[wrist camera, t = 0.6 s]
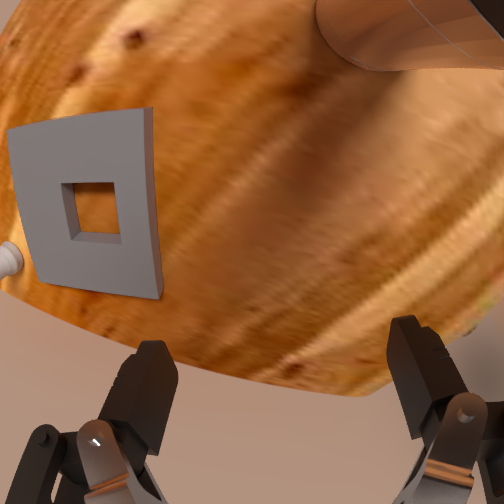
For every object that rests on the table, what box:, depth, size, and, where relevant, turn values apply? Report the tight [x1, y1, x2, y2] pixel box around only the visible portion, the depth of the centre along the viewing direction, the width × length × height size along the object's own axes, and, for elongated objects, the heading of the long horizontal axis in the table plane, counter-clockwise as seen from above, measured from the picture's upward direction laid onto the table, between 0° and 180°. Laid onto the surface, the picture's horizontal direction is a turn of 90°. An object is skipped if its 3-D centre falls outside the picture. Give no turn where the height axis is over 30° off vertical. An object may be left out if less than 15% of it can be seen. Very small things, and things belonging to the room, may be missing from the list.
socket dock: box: [7, 107, 164, 300], centre depth 25 cm, size 18×16×2 cm
